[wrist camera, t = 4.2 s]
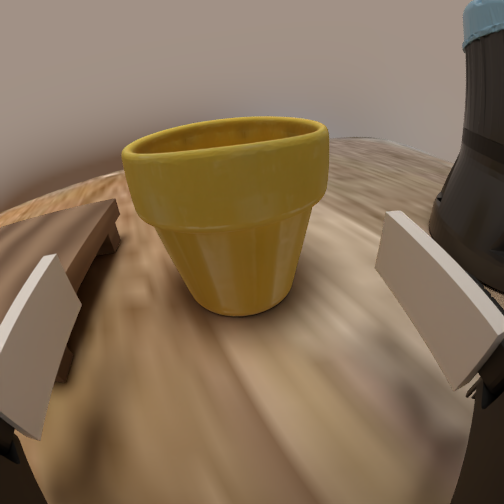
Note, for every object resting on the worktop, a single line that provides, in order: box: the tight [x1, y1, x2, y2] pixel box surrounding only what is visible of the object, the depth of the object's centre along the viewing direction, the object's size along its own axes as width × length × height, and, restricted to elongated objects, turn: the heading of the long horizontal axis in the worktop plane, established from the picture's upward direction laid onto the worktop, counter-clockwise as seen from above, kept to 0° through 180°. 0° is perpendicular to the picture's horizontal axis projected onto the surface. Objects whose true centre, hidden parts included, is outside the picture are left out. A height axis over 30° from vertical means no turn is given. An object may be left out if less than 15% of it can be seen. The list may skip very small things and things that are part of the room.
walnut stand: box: [0, 199, 121, 383], centre depth 16 cm, size 16×16×4 cm
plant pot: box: [122, 116, 329, 316], centre depth 16 cm, size 10×10×10 cm
